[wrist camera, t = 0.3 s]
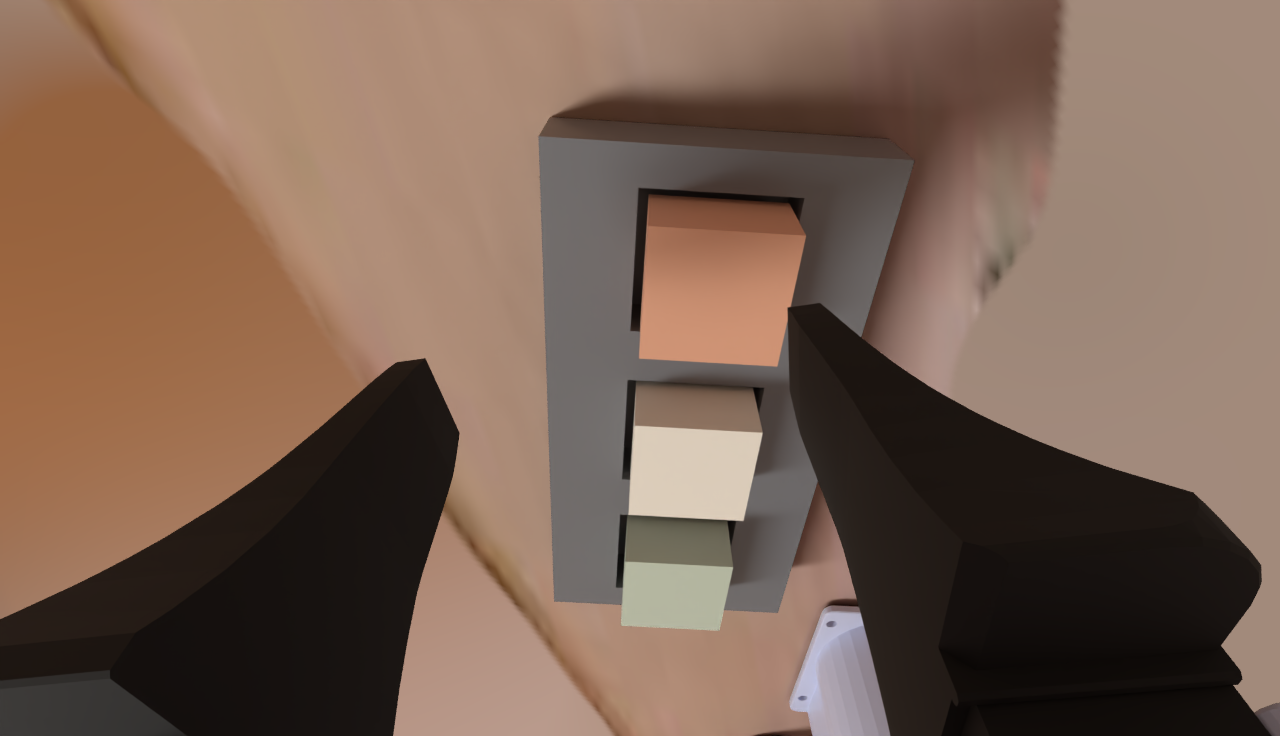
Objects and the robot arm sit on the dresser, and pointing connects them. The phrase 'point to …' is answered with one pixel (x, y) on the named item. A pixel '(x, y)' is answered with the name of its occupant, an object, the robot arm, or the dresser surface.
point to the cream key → (693, 450)
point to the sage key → (675, 572)
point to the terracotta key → (718, 279)
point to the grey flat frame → (610, 366)
